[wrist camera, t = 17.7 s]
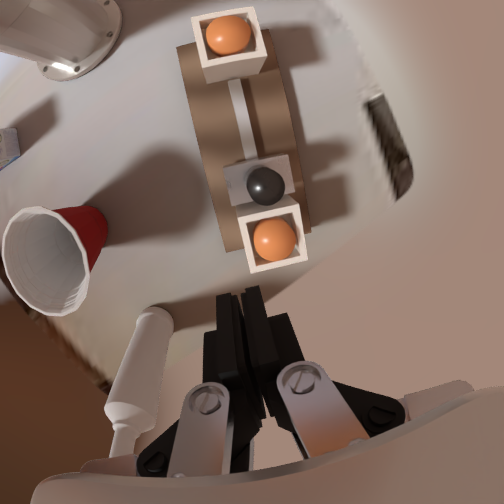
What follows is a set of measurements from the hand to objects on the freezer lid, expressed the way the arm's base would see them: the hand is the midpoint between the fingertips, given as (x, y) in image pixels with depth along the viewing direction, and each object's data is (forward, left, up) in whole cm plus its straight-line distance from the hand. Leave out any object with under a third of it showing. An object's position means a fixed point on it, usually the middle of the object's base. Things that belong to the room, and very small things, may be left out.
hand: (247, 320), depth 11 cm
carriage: (-3, +3, -19) cm, 20 cm away
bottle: (+13, -14, -22) cm, 29 cm away
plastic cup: (-2, -18, -22) cm, 29 cm away
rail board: (-7, +3, -22) cm, 23 cm away
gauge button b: (+2, +3, -15) cm, 16 cm away
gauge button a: (-16, +3, -15) cm, 23 cm away
